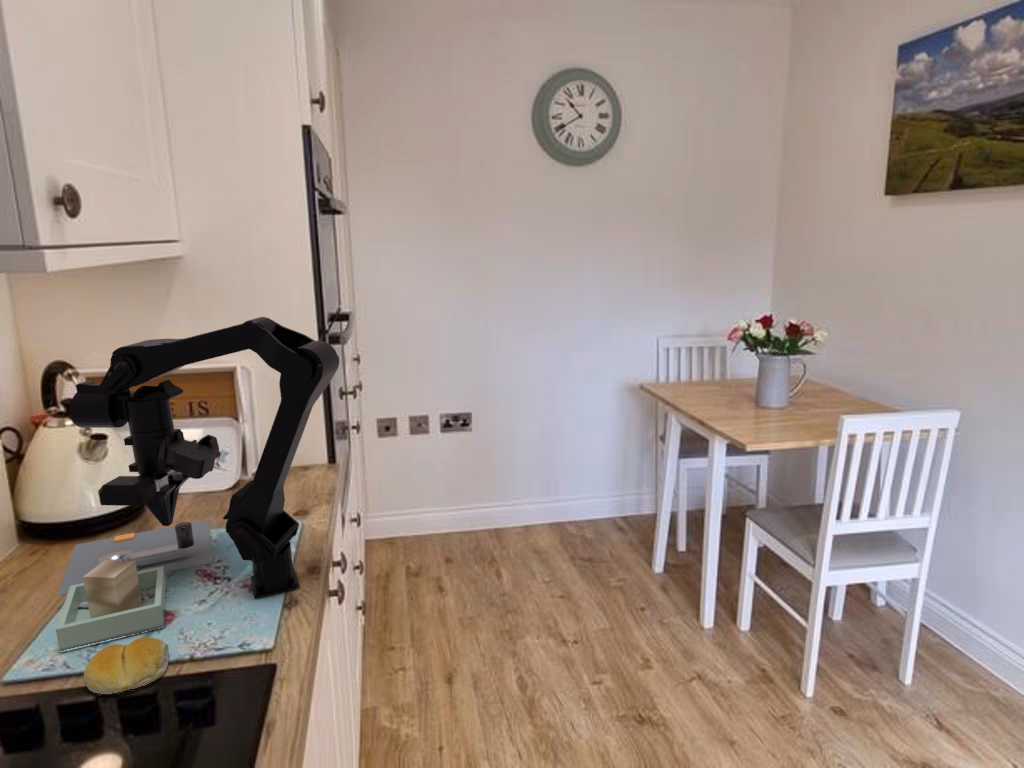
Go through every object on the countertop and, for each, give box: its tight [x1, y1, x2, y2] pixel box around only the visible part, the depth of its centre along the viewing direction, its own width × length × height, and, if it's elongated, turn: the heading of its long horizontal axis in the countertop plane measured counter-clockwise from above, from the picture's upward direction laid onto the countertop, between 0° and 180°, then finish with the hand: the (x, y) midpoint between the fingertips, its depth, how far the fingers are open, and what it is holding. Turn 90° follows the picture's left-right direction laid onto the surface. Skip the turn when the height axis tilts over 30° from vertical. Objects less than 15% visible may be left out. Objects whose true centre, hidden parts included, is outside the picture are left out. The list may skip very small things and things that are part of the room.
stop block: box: [83, 560, 143, 618], centre depth 92 cm, size 4×4×7 cm
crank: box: [98, 521, 194, 567], centre depth 105 cm, size 13×4×5 cm, turn 116°
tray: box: [55, 566, 167, 652], centre depth 92 cm, size 12×12×4 cm
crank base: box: [56, 519, 213, 597], centre depth 109 cm, size 18×21×1 cm
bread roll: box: [83, 636, 170, 695], centre depth 80 cm, size 8×9×4 cm
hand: (167, 525), depth 100 cm, fingers closed
